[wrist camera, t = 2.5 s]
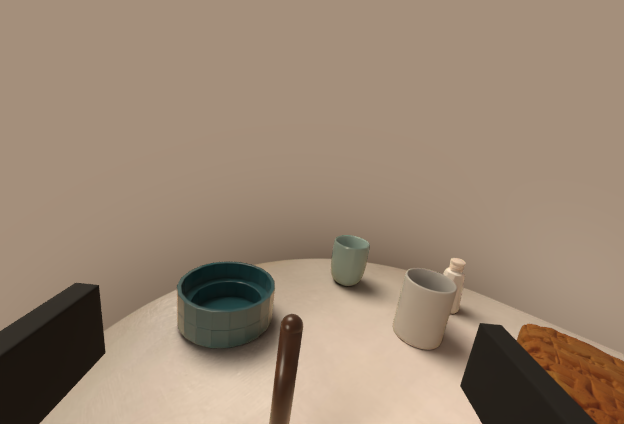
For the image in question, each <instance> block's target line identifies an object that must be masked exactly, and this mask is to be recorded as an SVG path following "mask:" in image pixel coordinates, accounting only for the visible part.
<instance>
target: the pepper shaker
mask: <svg viewBox="0 0 624 424" xmlns="http://www.w3.org/2000/svg"><path fill="white" fill-rule="evenodd" d="M465 264H466V263H465V262H464V261H463V260H461V259H458V258H452V259H451V263H450V267H449V268H447V269H446V270H445V272H444V274H443V275H445V276H446V277H448V278H450V279H451V280H452V281H453V282H454V283H455V284H456V286H457V292H456V295H455V299H454V302H453V305H452V308H451V312H450V313H451V314H455V313H456V312H457V311H459V306H460V300H461V295H462V289H463V284H464V278H465V274H464V273H463V269H464V266H465Z"/></svg>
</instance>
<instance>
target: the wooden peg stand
mask: <svg viewBox="0 0 624 424" xmlns="http://www.w3.org/2000/svg"><path fill="white" fill-rule="evenodd" d="M302 331H303V322H302V320H301V318H300V317H299V316H297V315H295V314H289V315H287V316H285V317H284V318H283V320H282V322H281V328H280V336H279V345H278V353H277V362H276V371H275V379H274V388H273V396H272V405H271V413H270V422H269V424H289V422H290V415H291V408H292V401H293V394H294V387H295V380H296V373H297V366H298V359H299V352H300V345H301V338H302Z"/></svg>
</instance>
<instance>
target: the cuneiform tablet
mask: <svg viewBox="0 0 624 424" xmlns="http://www.w3.org/2000/svg"><path fill="white" fill-rule="evenodd" d="M517 342H518V343H519V344H520V345H521V346H522V347H523V348H524V349H525V350H526V351H527V352H528V353H529V354H530V355H531V356H532V357H533V358H534V359H535V360H536V361H537V362H538V363H539V364H540V365H541V366H542V367H543V368H544V370H545V371H546V372H547V373H548V374H549V375H550V376H551V377H552V378H553V379H554V380H555V381H556V382H557V383H558V384H559V385H560V386H561V387H562V388H563V389H564V390H565V391H566V392H567V393H568V394H569V395H570V396H571V397H572V398H573V399H574V400H575V401H576V402H577V403H578V404H579V405H580V406H581V407H582V409H583V410H584V411H585V412H586V413H587V414H588V415H589V416H590V417H591V418H592V419H593V420H594V421H595V422H596V423H597V424H624V361H622V360H620V359H618V358H615V357H613V356H610V355H608V354H606V353H604V352H603V351H601V350H599V349H597V348H595V347H593V346H592V345H590V344H587V343H585V342H582V341H580V340H578V339H576V338H573V337H570V336H568V335H566V334H562V333H560V332H558V331H556V330H554V329H552V328H547V327H540V326H538V325H533V324H527V325H523V326H522V328H521V330H520V332H519V335H518V338H517Z"/></svg>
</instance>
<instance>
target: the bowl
mask: <svg viewBox="0 0 624 424" xmlns="http://www.w3.org/2000/svg"><path fill="white" fill-rule="evenodd" d="M274 291H275V283H274V280H273V278H272V277H271V275H270V274H269V273H268V272H266V271H265V270H263V269H262V268H259V267H257V266H254V265H251V264H247V263H242V262H217V263H211V264H206V265H202V266H200V267H197V268H195V269H193V270H191V271H189V272H188V273H187V274H185V275H184V276H183V277H182V278H181V279H180V281H179V283H178V285H177V324H178V329H179V331H180V332H181V333H182V335H183V336H184V337H185V338H186V339H188V340H189V341H191V342H193V343H194V344H196V345H201V346H205V347H209V348H230V347H234V346H239V345H243V344H246V343H248V342H250V341H252V340H254V339H256V338H258V337H259V336H260V335H261V334H262V333H263V332H264V331H265V330H267V328H268V326H269V324H270V322H271V320H272V310H273V301H274Z"/></svg>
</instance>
